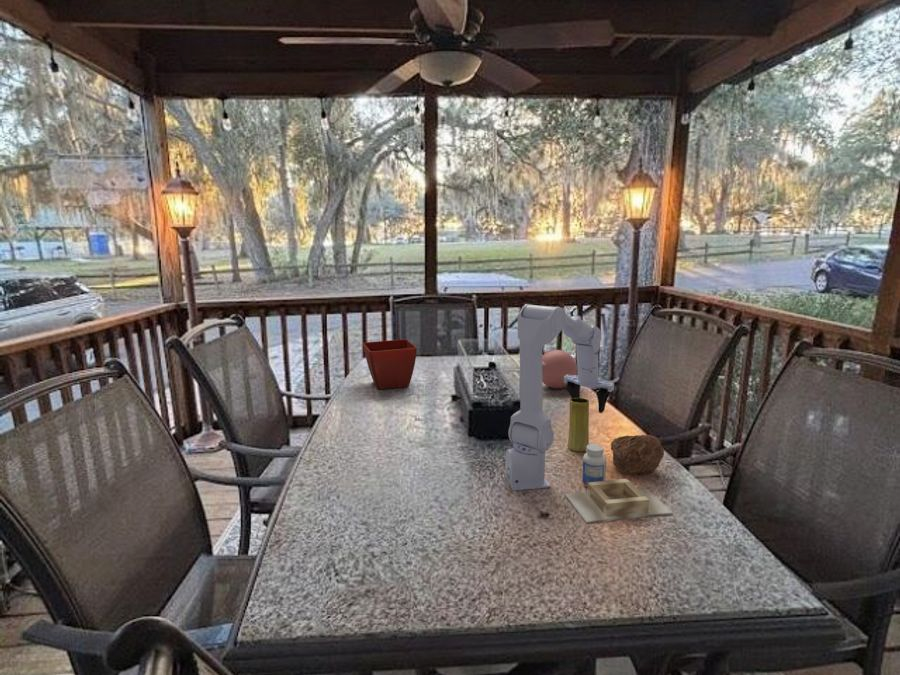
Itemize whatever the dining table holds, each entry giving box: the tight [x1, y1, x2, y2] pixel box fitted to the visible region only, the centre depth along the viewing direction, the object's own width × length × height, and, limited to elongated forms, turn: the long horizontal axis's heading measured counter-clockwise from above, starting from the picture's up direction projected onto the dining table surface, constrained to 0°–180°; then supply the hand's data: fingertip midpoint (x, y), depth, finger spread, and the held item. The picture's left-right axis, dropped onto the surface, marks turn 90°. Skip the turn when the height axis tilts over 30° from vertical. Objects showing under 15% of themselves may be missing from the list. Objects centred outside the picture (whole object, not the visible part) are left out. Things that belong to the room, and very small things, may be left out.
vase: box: [567, 397, 590, 453], centre depth 145 cm, size 6×6×14 cm
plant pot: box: [362, 338, 418, 390], centre depth 209 cm, size 19×19×17 cm
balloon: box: [542, 349, 578, 390], centre depth 202 cm, size 15×20×15 cm
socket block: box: [564, 478, 673, 524], centre depth 115 cm, size 20×12×3 cm, turn 99°
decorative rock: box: [610, 434, 665, 476], centre depth 131 cm, size 13×11×10 cm
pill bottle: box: [581, 443, 607, 488], centre depth 124 cm, size 6×5×10 cm
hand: (589, 408), depth 148 cm, fingers open, 7 cm apart
